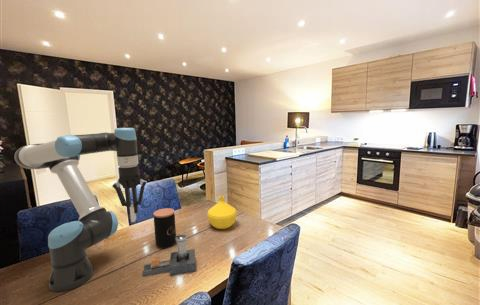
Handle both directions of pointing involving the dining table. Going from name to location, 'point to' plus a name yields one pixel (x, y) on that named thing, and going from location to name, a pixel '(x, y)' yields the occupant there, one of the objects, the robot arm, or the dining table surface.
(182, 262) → the dock
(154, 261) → the bolt
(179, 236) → the peg
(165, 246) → the coffee jar
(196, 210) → the dining table surface
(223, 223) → the vase
